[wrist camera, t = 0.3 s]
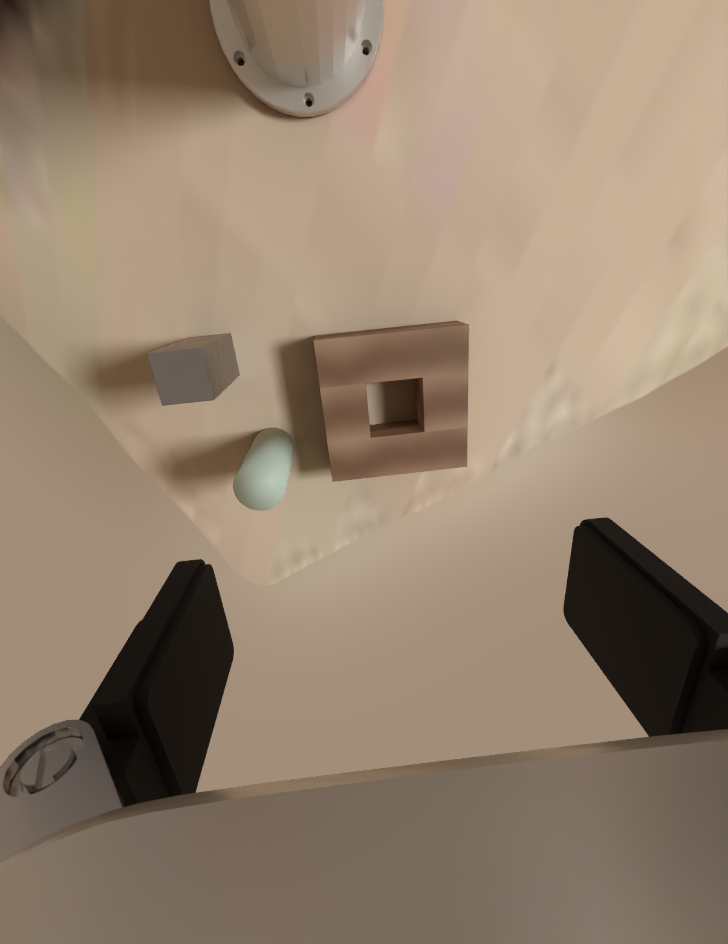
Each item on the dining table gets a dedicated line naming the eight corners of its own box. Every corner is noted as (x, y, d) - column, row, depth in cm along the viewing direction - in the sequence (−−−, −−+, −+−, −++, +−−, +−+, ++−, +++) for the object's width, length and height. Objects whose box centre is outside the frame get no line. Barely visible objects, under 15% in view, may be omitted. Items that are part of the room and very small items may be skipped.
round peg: (249, 430, 44) (228, 467, 35) (290, 425, 44) (280, 462, 35) (257, 467, 46) (239, 513, 37) (297, 463, 46) (288, 507, 37)
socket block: (315, 335, 40) (313, 340, 37) (456, 320, 41) (468, 324, 37) (332, 466, 46) (332, 481, 43) (456, 452, 47) (466, 466, 43)
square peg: (199, 379, 41) (162, 405, 32) (189, 337, 40) (146, 353, 31) (239, 375, 42) (213, 400, 32) (230, 333, 40) (200, 347, 31)
